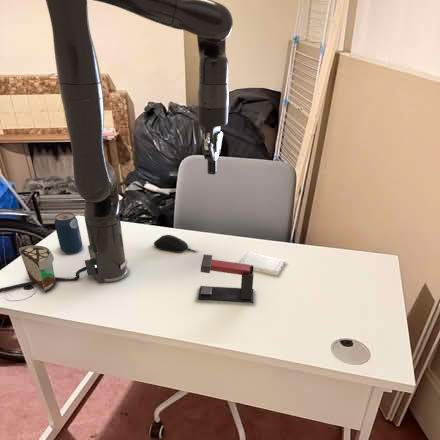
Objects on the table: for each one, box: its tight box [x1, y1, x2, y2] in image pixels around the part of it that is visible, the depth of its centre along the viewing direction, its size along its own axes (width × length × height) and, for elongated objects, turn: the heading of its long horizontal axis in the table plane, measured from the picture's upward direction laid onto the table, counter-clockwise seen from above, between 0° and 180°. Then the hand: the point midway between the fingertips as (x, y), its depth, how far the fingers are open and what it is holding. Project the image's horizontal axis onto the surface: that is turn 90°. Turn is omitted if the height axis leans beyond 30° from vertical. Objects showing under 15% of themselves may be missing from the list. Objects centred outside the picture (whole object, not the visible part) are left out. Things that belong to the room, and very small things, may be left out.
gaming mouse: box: [153, 234, 196, 253], centre depth 131 cm, size 6×15×4 cm, turn 70°
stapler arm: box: [200, 253, 250, 276], centre depth 104 cm, size 13×6×2 cm, turn 86°
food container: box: [18, 245, 57, 293], centre depth 111 cm, size 12×6×10 cm, turn 47°
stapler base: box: [197, 265, 254, 304], centre depth 107 cm, size 15×6×9 cm, turn 86°
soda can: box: [53, 212, 84, 255], centre depth 126 cm, size 7×7×12 cm
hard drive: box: [239, 251, 286, 276], centre depth 123 cm, size 2×8×12 cm
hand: (212, 173), depth 107 cm, fingers closed
